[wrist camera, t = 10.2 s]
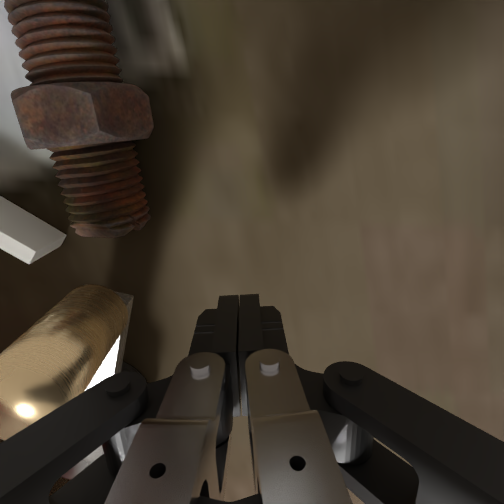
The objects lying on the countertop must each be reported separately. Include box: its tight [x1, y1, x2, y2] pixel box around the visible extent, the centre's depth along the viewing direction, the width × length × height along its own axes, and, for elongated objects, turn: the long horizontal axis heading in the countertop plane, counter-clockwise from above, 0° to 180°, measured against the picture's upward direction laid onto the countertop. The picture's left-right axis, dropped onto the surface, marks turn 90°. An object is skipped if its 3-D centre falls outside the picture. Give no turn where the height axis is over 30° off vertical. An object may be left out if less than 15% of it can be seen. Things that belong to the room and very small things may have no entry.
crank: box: [0, 284, 134, 479], centre depth 13 cm, size 11×4×6 cm, turn 165°
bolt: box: [4, 0, 154, 238], centre depth 11 cm, size 6×5×15 cm
